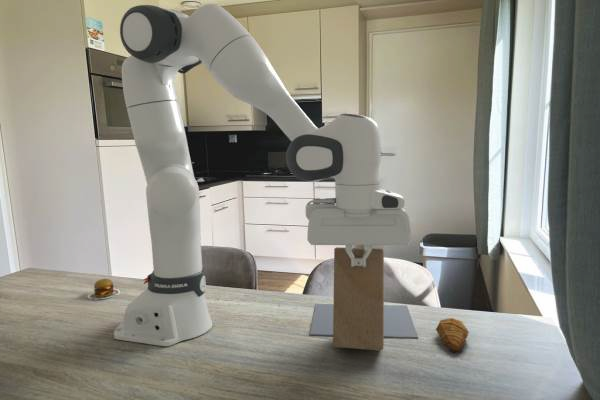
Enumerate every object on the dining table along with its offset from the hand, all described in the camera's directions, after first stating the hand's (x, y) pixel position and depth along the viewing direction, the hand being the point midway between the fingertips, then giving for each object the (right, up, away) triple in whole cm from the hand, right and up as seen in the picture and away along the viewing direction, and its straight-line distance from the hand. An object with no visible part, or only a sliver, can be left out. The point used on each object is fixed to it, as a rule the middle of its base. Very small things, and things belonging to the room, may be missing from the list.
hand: (358, 266), depth 83 cm
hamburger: (-70, -16, +41) cm, 83 cm away
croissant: (+21, -18, +7) cm, 29 cm away
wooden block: (+1, -17, +4) cm, 18 cm away
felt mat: (+3, -16, +18) cm, 25 cm away
